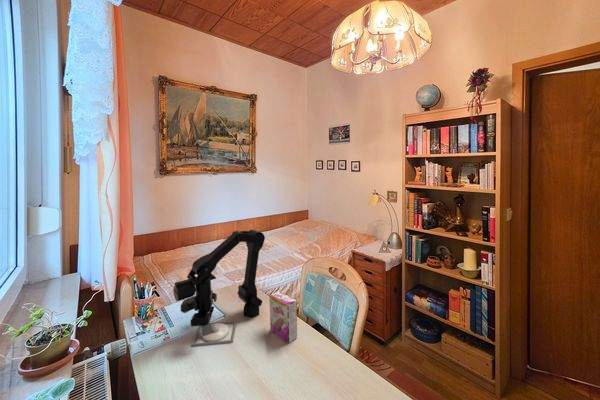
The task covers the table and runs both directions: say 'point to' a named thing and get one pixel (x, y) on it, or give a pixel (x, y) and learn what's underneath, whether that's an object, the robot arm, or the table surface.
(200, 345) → the panel
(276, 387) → the table surface
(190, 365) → the table surface
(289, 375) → the table surface
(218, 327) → the dial
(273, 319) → the candy bar box
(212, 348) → the table surface
